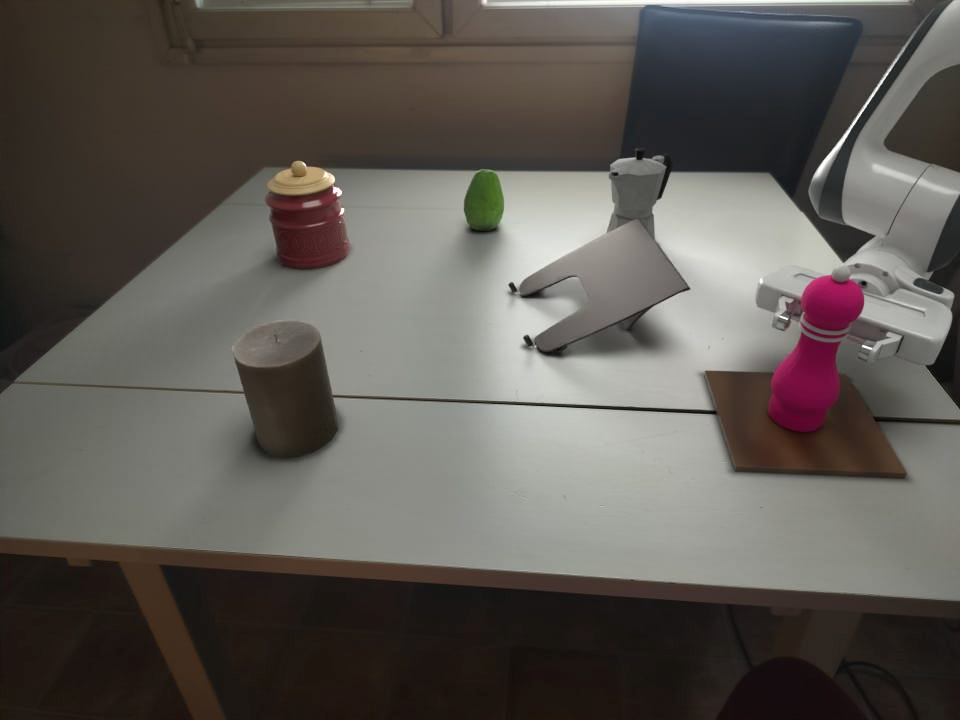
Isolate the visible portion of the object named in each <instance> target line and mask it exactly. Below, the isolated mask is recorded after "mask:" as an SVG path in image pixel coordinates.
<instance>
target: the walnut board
mask: <svg viewBox="0 0 960 720" xmlns="http://www.w3.org/2000/svg"><path fill="white" fill-rule="evenodd" d="M774 372H775V371H774ZM774 372H771V371H770V372H769V371H740V370H739V371H737V370H704V373H703V377H704V379H705V382H706V383H705V384H706V387H707V389H708V392H709V395H710V398H711V402H712V404H713V408H714V412H715V414H716V417H717V420H718V423H719V426H720V429H721V433H722V436H723V439H724V442H725V445H726V448H727V452H728V454H729V458H730V461H731V464H732V467H733V470H734V472H737V473H738V472H740V473H761V474H762V473H763V474H764V473H765V474H785V475H786V474H787V475H789V474H790V475H807V476H809V475H812V476H832V477H834V476H835V477H860V478H883V479H906V477H907V475H908V472H907V471H906V469H905V468H904V466H903V464H902V462H901V460H900V459H899V457H898V456H897V454H896V453H895V451H894V449H893V448H892V446H891V444H890V443H889V441H888V439H887V438H886V436H885V434H884V433H883V431H882V429H881V428H880V426H879V425H878V424H877V422H876V420H875V419H874V417H873V415H872V413H871V412H870V410H869V409H868V407H867V405H866V404H865V402H864V400H863V399H862V398H861V395H860V394H859V392H858V391H857V389H856V387H855V386H854V384H853V382H852V381H851V379H850V378H849V376H848V374H844V373H843V374H839V373H838V375H839V380H840V391H839V395H838V399H837V400H836V402H835V403H834V404H833V405H832V406H831V407H830V408H828V409H827V415H826V418H825V420H824V423H823V425H822V426H821V427H820V428H819V429H817V430H815V431H812V432H798V431H793V430H789V429H786V428H784V427H782V426H780V425H779V424H777V423H776V422H775V421H774V420H773V419H772V418H771V417H770V415H769V413H768V406H769V402H770V399H771V396H772V395H773V394H774V393H773V391H772V389H771V380H772V377H773V375H774Z"/></svg>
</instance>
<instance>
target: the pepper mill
mask: <svg viewBox="0 0 960 720" xmlns="http://www.w3.org/2000/svg"><path fill="white" fill-rule="evenodd" d="M850 275H851V271H850V269H849V268H848V267H847V266H844V265H842V264H841V265H840V264H839V265H837V266H835V267H834V268H832V270H831V273H830V274H826V276H822V277H819V278H816V279H814V280H813V281H811V282H810V283H809V284H808V285H807V287H806V288H805V290H804V292H803V294H802V298H801V306H802V309H803V311H804V313H802V315H801V320H800V322H798V329H799V331H800V336H799V339H798V341H797V344H796V346H794V348H793V350H792V351H791V352H790V353H789V354H788V355H787V356H786V357H785V358H784V359H783V360H782V361H781V362H780V363H779V365H778V366H777V368H776V369H775V370H774V375H773V377H772V380H771V389H772V391H773V393H774V394H773V395H772V396H771V399H770V402H769V406H768V413H769V415H770V417H771V418H772V419H773V420H774V421H775V422H776V423H777V424H779V425H780V426H782V427H784V428H786V429H789V430H793V431H798V432H812V431H815V430H817V429H819V428H820V427H821V426H822V425H823V423H824V420H825V418H826V415H827V409H828V408H830V407H831V406H832V405H833V404H834V403H835V402H836V400H837V399H838V395H839V391H840V380H839V375H838V374H839V370H838V366H837V354H838V350H839V346H840V345H841V342H842V341H844V340H847V339H846V338H847V337H848V335H849V332H848V331H849V330H850V329H851V322H853V321H854V320H856V319H857V318H858V317H859V316H860V314H861V313H862V310H863V307H864V294H863V292H862V289H861V288H860V287H859V285H858V284H857V283H855V282H854V281H852V280H850V279H849V278H850Z"/></svg>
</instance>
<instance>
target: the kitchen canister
mask: <svg viewBox="0 0 960 720" xmlns="http://www.w3.org/2000/svg"><path fill="white" fill-rule="evenodd" d="M335 182H336V178H335V176H334V175H333V174H332V173H330V172H328V171H325V170H324V169H322V168H320V167H317V166H316V167H315V166H307V165H306V164H305V162H303V161H301V160H295V161H293V162H292V163H291V166H290V168H287V169H283V170H281V171H279V172H278V173H277V174H275V176H274V177H272V178H271V179H270V180H269V181H268V182H267V185H266V187H267V189H268V190H269V192H268V193H267V194H266V196H265V198H264V202H265V204H266V205H267V206H268V207H269V209H270V214H269V217H268V219H269V222H270V224H271V228H272V232H273V238H274V242H275V245H276V247H275V252H276V255H277V258H278V260H279V263H280V264H281V266H282V267H284V268H285V267H287V268H291V269H294V270H295V269H296V270H317V269H322V268H327V267H331V266H333V265H337V263H339V262H342V261H343V260H344V259H346V257H348V255H349V253H350V248H351V244H350V238H349V237H348V233H347V232H348V231H347V226H346V218H345V207H344V206H343V204H342V203H341V199H340V198H341V197H342V194H343V191H342V188H341V187H340V186H339V185H337V184H335Z"/></svg>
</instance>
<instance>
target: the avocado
mask: <svg viewBox="0 0 960 720" xmlns="http://www.w3.org/2000/svg"><path fill="white" fill-rule="evenodd" d="M504 211H505V197H504V194H503V189H502V183H501V181H500V178H499V176H498V174H497V172H496V171H495V170H491V169H487V168H486V169H485V168H481V169H479V170H478V171H476V172H475V173H474V175H473V177H472V179H471V181H470V183H469V185H468V187H467V190H466V193H465V196H464V200H463V213H464V216H465V219H466V223H467V224H468V226H469V227H470V228H471V229H473V230H475V231H476V232H477V231H478V232H488V231H491V230H494V229H496V228H497V227H498V226H499V225H500V223H501V221H502V219H503V215H504Z"/></svg>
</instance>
